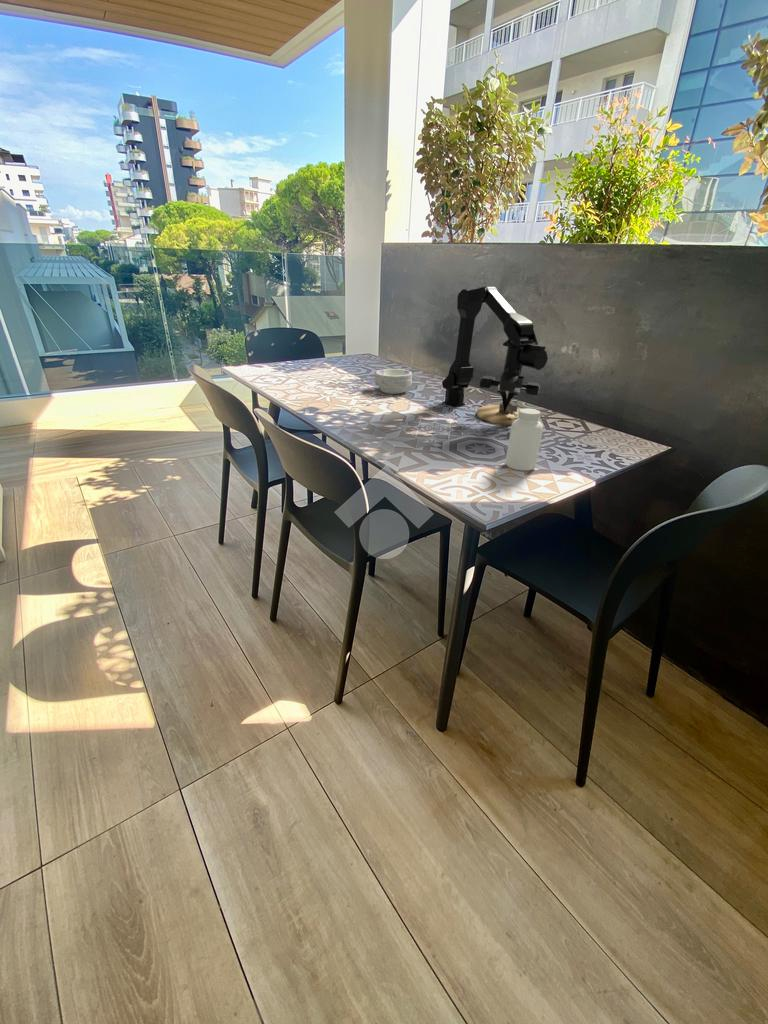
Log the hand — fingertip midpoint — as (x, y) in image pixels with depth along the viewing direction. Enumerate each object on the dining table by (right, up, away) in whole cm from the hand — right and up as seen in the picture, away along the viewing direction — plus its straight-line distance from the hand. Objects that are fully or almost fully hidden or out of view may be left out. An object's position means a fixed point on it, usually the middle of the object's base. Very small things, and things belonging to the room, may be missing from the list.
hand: (504, 410), depth 151 cm
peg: (+2, -1, +4) cm, 4 cm away
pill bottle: (-4, -22, -29) cm, 37 cm away
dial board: (+2, 0, +9) cm, 10 cm away
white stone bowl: (-37, +16, +37) cm, 54 cm away
